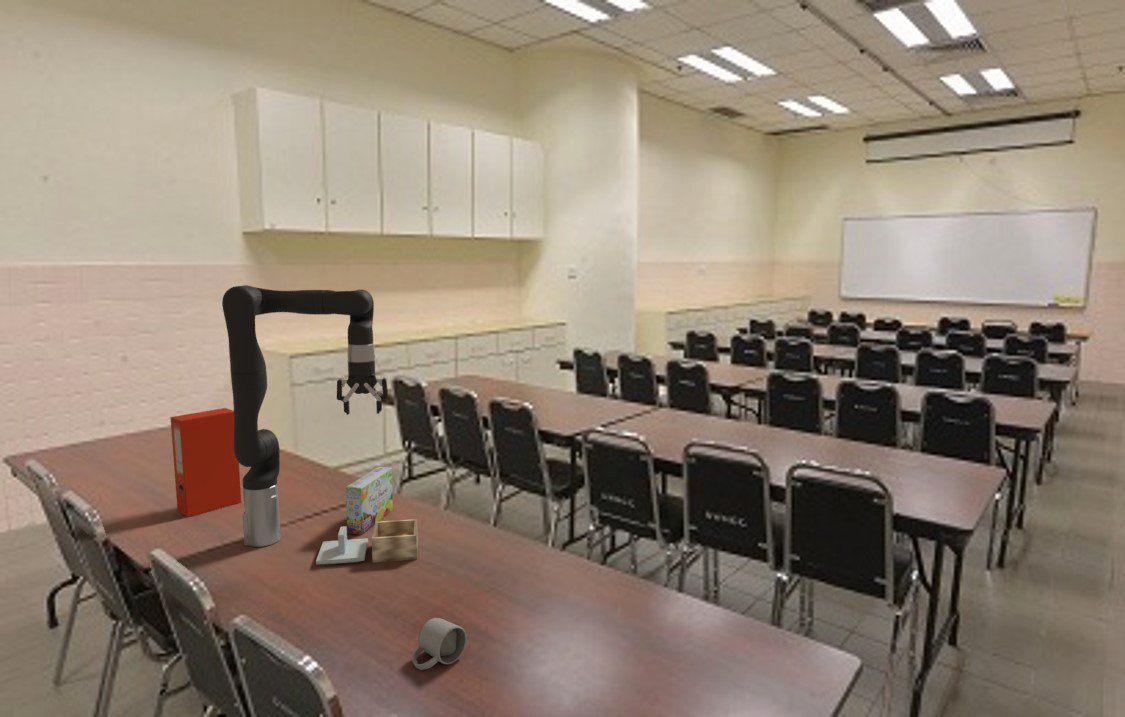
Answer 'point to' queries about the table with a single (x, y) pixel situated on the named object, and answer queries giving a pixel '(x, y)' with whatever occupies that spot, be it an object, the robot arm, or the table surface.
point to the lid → (342, 550)
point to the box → (395, 540)
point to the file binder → (205, 461)
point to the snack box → (369, 500)
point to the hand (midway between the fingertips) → (363, 413)
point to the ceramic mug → (440, 642)
